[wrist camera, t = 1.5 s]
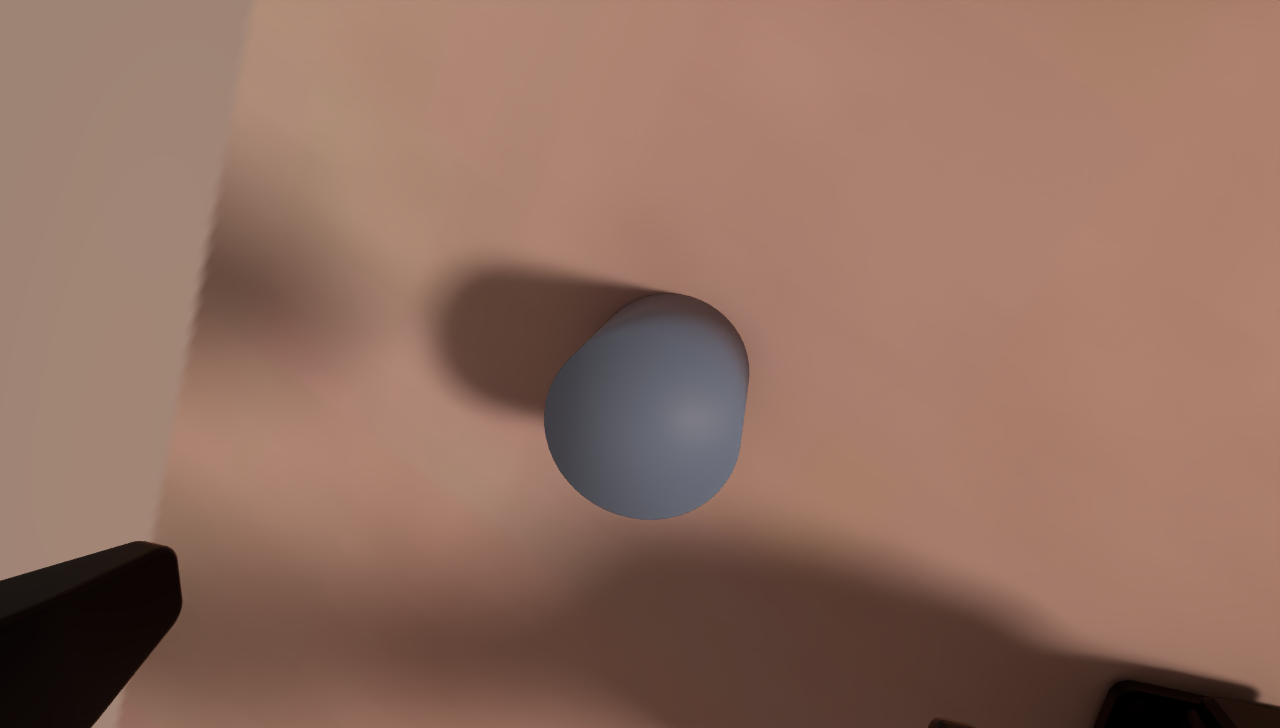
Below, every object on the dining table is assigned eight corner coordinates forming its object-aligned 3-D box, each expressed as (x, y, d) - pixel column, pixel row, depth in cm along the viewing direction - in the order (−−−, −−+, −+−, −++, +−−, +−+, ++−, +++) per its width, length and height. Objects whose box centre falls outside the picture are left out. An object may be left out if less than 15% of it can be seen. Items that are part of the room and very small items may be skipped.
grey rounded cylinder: (735, 455, 20) (724, 536, 16) (587, 428, 21) (538, 499, 16) (761, 306, 19) (756, 351, 14) (600, 282, 19) (551, 318, 15)
